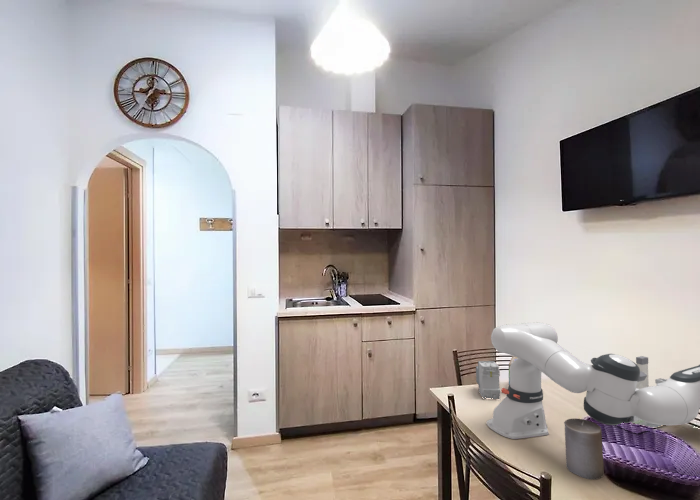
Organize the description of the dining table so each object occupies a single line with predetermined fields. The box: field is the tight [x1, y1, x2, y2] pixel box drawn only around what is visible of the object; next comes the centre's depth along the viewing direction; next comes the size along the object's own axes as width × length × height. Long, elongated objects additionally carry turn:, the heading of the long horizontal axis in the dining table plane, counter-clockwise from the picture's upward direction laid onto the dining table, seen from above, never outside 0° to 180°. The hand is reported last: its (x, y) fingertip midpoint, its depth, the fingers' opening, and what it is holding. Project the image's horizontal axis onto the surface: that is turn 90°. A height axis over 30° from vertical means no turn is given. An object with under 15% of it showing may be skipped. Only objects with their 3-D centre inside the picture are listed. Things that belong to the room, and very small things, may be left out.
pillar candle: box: [563, 418, 605, 480], centre depth 112 cm, size 10×10×15 cm
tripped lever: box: [635, 355, 650, 389], centre depth 146 cm, size 4×2×18 cm, turn 111°
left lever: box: [636, 371, 647, 389], centre depth 136 cm, size 4×2×18 cm, turn 111°
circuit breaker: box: [475, 360, 501, 400], centre depth 172 cm, size 8×14×15 cm, turn 174°
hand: (657, 380), depth 142 cm, fingers closed
